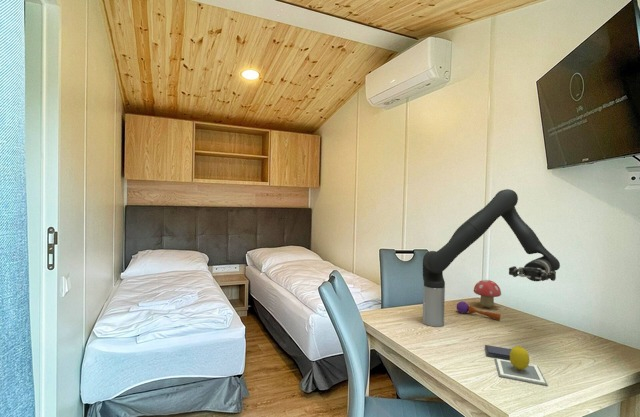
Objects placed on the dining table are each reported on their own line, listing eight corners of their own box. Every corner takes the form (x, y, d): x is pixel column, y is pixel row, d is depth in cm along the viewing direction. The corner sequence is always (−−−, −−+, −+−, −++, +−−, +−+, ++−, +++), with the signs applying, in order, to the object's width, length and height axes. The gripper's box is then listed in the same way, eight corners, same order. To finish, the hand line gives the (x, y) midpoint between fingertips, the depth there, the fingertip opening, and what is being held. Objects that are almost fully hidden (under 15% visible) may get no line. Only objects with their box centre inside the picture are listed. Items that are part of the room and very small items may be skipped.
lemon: (505, 366, 110) (506, 342, 110) (521, 366, 111) (521, 342, 111) (516, 374, 105) (517, 349, 105) (533, 374, 105) (533, 349, 105)
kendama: (498, 314, 155) (455, 302, 167) (498, 325, 156) (454, 313, 168) (501, 309, 159) (458, 298, 172) (500, 320, 160) (458, 308, 173)
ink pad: (486, 356, 118) (486, 352, 118) (484, 347, 126) (484, 344, 126) (518, 362, 114) (518, 357, 114) (514, 352, 122) (514, 348, 122)
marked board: (499, 376, 104) (499, 374, 104) (494, 359, 116) (494, 357, 116) (547, 386, 99) (547, 383, 99) (538, 367, 111) (538, 365, 111)
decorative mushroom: (471, 303, 186) (471, 276, 186) (497, 305, 183) (497, 278, 183) (475, 310, 173) (476, 281, 173) (504, 312, 170) (504, 283, 170)
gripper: (516, 258, 132) (505, 262, 120) (559, 262, 122) (552, 268, 111) (515, 276, 132) (505, 283, 120) (559, 282, 123) (552, 290, 111)
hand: (528, 275), depth 115 cm, fingers open, 8 cm apart
